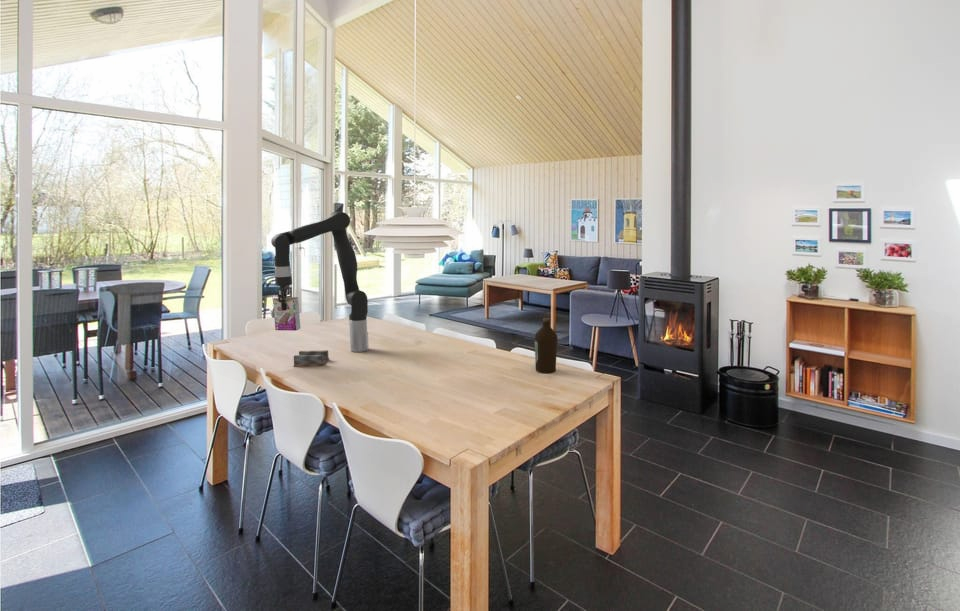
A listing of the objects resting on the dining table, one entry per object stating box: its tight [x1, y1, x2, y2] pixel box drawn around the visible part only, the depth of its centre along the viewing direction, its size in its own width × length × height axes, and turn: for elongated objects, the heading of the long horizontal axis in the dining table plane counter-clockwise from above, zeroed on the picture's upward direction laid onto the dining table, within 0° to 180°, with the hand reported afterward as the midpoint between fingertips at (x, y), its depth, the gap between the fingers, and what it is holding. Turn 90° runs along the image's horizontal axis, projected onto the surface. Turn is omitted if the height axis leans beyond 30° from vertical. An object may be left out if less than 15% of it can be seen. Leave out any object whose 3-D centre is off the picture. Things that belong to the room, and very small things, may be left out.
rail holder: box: [293, 349, 330, 368], centre depth 249 cm, size 14×12×5 cm
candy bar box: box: [272, 296, 301, 331], centre depth 249 cm, size 11×5×16 cm, turn 83°
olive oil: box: [534, 317, 559, 374], centre depth 233 cm, size 11×11×25 cm
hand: (286, 309), depth 249 cm, fingers closed on candy bar box, 5 cm apart
